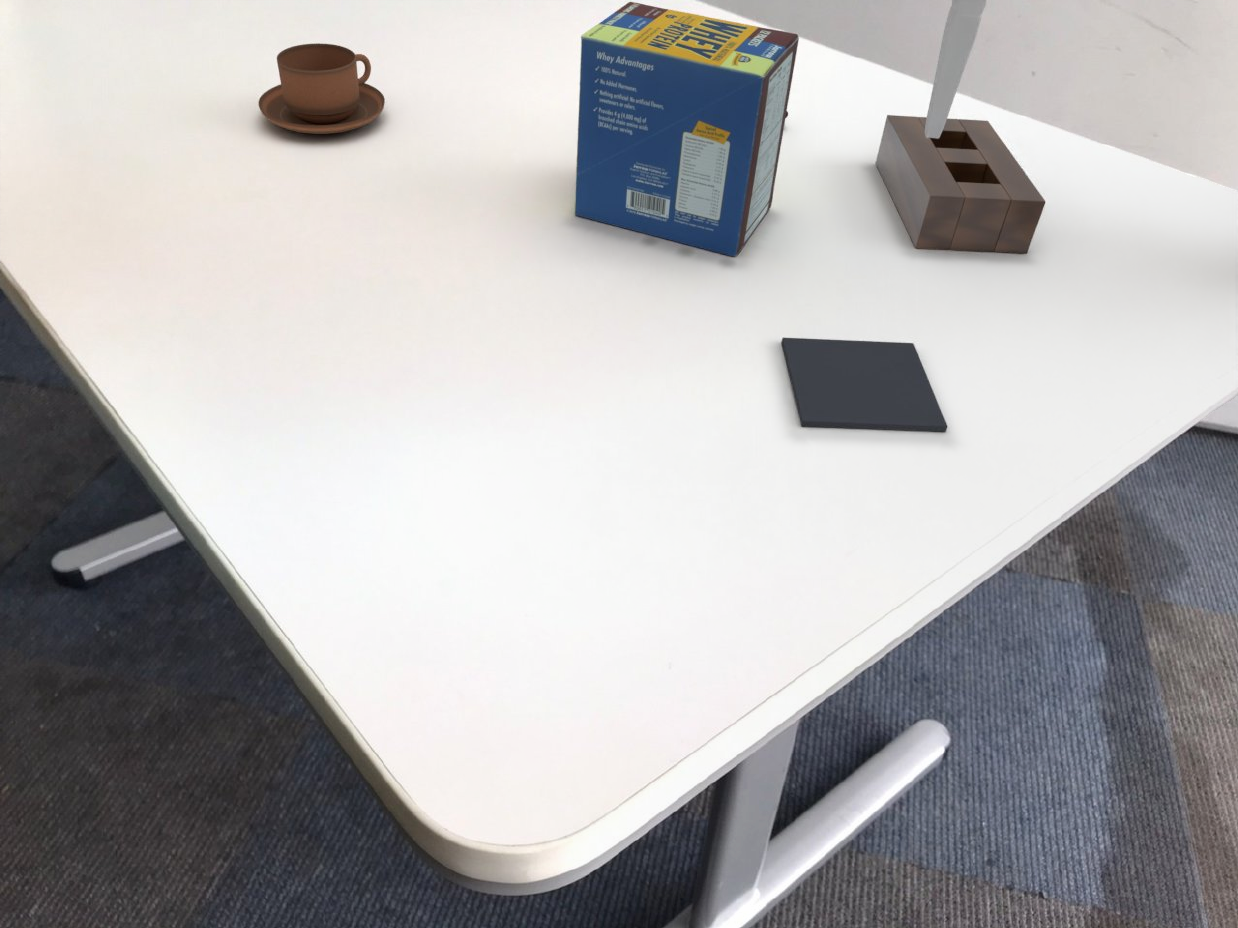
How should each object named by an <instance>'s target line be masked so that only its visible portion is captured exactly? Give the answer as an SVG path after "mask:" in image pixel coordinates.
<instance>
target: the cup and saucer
mask: <svg viewBox="0 0 1238 928" xmlns="http://www.w3.org/2000/svg"><path fill="white" fill-rule="evenodd" d="M357 62H362V64H363V66H364V72H363V74H362V76H360V77H359V76H358V75H359V74H358V63H357ZM276 63H277V68H278V75H279V80H280V84H278V85H276V86H273V87H271V88H269V89H268V90H266V91H264V93H262V95H261V96H260V97H259V100H258V107H259V110H260V112H261V114H262V116H264V118H265V119H267V120H269V121H270V122H271V123H273V124H274V125H275V126H278V127H280V128H282V129H285V130H288V131H291V132H297V133H302V134H312V135H313V134H314V135H327V134H329V135H330V134H337V133H344V132H349V131H353V130H356V129H359V128H361V127H364V126H366V125H368V124H370V123H371V122H373V121H374V120H375V119H376V118H377V117H379V115H381V113H383V110H384V108H385V101H386V100H385V96H384V94H383V93H382V92H381V91H380V90H379V89H378V88H376V87H375V86H373V85H371V84H368V83H366V82H367V81H368V80H369V79H370V76H371V72H372V65H371V62H370V60H369V58H368V57H367V56H366V55H364V54H362V53H355V52H354V51H353V50H351V49H349V48H347V47H345V46H342V45H337V44H334V43H333V44H332V43H303V44H298V45H294V46H290V47H288V48H285V49H283V50H281V51H280V52H279V53H278V54H277V55H276Z"/></svg>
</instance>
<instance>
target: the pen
mask: <svg viewBox="0 0 1238 928" xmlns="http://www.w3.org/2000/svg"><path fill="white" fill-rule="evenodd" d="M986 6H987V0H951V6H950V7H949V11H948V14H947V18H946V21H945V25H944V29H943V34H942V40H941V44H940V49H939V55H938V59H937V64H936V70H935V74H934V80H933V85H932V90H931V94H930V100H929V103H928V109H927V114H926V117H927V119H926V125H925V136H926V138H939V137H940V135H941V133H942V131H943V128H944V126H945V123H946V120H947V118H948V117H949V114H950V111H951V108H952V105H953V102H954V99H955V96H956V94H957V91H958V88H959V86H960V83H961V80H962V78H963V74H964V71H965V69H966V66H967V63H968V60H969V57H970V56H971V52H972V49H973V47H974V44H975V41H976V38H977V36H978V35H977V34H978V32H979V27H980V25H981V20H982V14H983V13H984V9H986Z"/></svg>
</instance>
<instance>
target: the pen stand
mask: <svg viewBox="0 0 1238 928" xmlns="http://www.w3.org/2000/svg"><path fill="white" fill-rule="evenodd" d="M926 119H927V116H914V115H913V116H912V115H911V116H910V115H895V114H894V115H893V114H887V115H886V119H885V123H884V127H883V131H882V134H881V139H880V143H879V148H878V152H877V155H876V159H875V165H876V167H877V170H878V171H879V174H880V176H881V178H882V180H883V182H884V185H885V187H886V189H887V191H888V194H889V196H890V197H891V199H892V201H893V204H894V206H895V207H896V210H897V212H898V214H899V216H900V218H901V220H902V222H903V225H904V227H905V229H906V231H907V234H908V235H909V238H910V239H911V242H912V244H913V246H914V248H915V249H919V250H921V249H922V250H923V249H924V250H940V251H941V250H943V251H945V250H946V251H949V250H950V251H968V252H986V253H987V252H988V253H993V252H994V253H1009V254H1028V251H1029V249H1030V246H1031V243H1032V241H1033V238H1034V235H1035V232H1036V230H1037V227H1038V224H1039V223H1040V222H1039V221H1040V219H1041V216H1042V213H1043V211H1044V208H1045V205H1046V200H1045V199H1044V197H1043V196H1042V194H1041V193H1040V191H1039V190H1038V189H1037V187H1036V186H1035V185H1034V183H1033V182H1032V180H1031V179H1030V177H1029V176H1028V174H1027V173H1026V172H1025V170H1024V169H1023V168H1022V166H1021V165H1020V164H1019V162H1018V161H1017V159H1016V158H1015V157H1014V155H1013V153H1012V152H1011V151H1010V150H1009V148H1008V147H1007V145H1006V144H1005V142H1004V141H1003V140H1002V138H1001V137H1000V136H999V134H998V132H997V131H996V130H995V128H994V127H993V126H992V124H991V123H990V121H989V120H984V119H983V120H982V119H963V118H948V117H947V120H946V123H945V126H944V128H943V131H942V133H941V135H940V137H939V138H926V136H925V125H926Z"/></svg>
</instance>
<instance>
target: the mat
mask: <svg viewBox="0 0 1238 928" xmlns="http://www.w3.org/2000/svg"><path fill="white" fill-rule="evenodd" d="M781 346H782V351H783V354H784V358H785V363H786V367H787V371H788V376H789V379H790V383H791V387H792V392H793V396H794V400H795V405H796V408H797V412H798V418H799V421H800V425H801V427H812V428H813V427H814V428H837V429H839V428H840V429H860V430H861V429H864V430H888V431H915V432H916V431H917V432H941V433H943V432H944V433H945V432H947V429H948V424H947V421H946V419H945V417H944V414H943V412H942V409H941V407H940V404H939V402H938V400H937V397H936V395H935V393H934V390H933V388H932V385H931V382H930V380H929V378H928V376H927V373H926V371H925V368H924V366H923V363H922V361H921V359H920V356H919V354H918V351H917V349H916V347H915V344H914V342H896V341H895V342H894V341H876V340H875V341H874V340H852V339H850V340H849V339H825V338H806V337H805V338H803V337H782V338H781Z"/></svg>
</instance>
